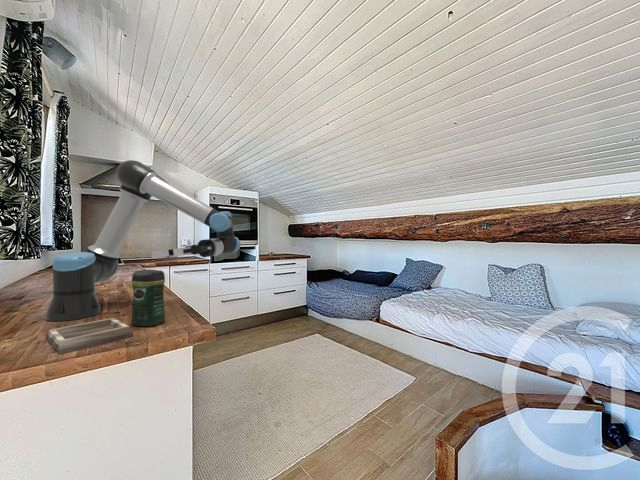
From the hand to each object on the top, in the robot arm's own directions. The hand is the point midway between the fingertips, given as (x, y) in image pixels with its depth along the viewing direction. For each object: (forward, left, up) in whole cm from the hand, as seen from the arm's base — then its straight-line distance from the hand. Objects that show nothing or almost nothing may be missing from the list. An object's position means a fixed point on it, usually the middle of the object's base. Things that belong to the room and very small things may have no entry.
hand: (162, 253), depth 100 cm
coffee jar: (+3, -6, -24) cm, 25 cm away
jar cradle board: (+4, -22, -24) cm, 32 cm away
